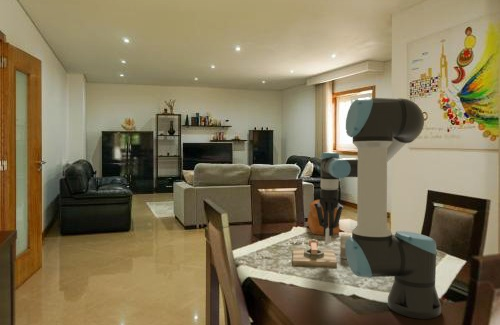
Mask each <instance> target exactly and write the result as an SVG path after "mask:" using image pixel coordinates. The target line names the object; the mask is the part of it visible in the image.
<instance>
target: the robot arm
mask: <svg viewBox="0 0 500 325" xmlns="http://www.w3.org/2000/svg"><path fill="white" fill-rule="evenodd" d="M424 126H425V117H424V113H423V111H422V109H421V107H419V105H418V104H416V102H414V101H412V100H411V99H407V98H403V97H400V98H399V97H398V98H394V97H393V98H389V97H387V98H386V97H362V98H357V99H355V100H353V102H352V103H351V104H350V106H349V108H348V111H347V115H346V120H345V130H346V132H345V133H346V135H347V136H348V137H350V138H352V144H353V145H354V146H355V147H356V148H357V158H352V157H351V158H349V157H348V158H344V157H343V158H340V154H339V152H332V151H331V152H330V151H329V152H327V151H324V152H322V153H321V155H320V188H321V189H319V190H320V192H319V194H320V196H319V198H320V199H318V200H319V202H318V203H316V204H314V206H315V207H316V210H317V215H318V220H319V225H320V226H323V228H324V235H323V236H325V237H324V238H325V243H324V244H328V245H330V244H331V243H332V237H333V236H334V235H333V229H334V228H336V227H338V224H339V225H340V220H341V216H342V212H343V210H344V208H345V205H342V204H340V201H339V183H340V182H339V180H340V179H344V178H357V181H356V182H357V197H356V198H357V199H356V200H357V201H356V202H357V203H356V204H357V210H356V211H357V213H356V214H357V215H356V216H357V220H356V222H357V223H356V226H355V227H354V228H353V229H352V231H351V233H352V234H351V237H350V238H348V239H347V240H346V243H345V252H346V257H347V259H346V261H347V264H348V267H349V268H350V270H351V272H352V273H353V274H354V275H355V276H356V277H359V278H369V279H370V278H371V279H372V278H380V277H381V278H382V277H383V278H385V277H394V278H393V279H394V280H393V283H392V286H391V288H390V291H389V292H388V293H389V294H388V296H387V306H388V308H389V309H390V310H392V311H393V312H394V313H396V314H399V315H401V316H404V317H408V318H413V319H417V320H418V319H421V320H430V319H435V318H438V317H439V316H440V315H441V314H442V312H441V311H442V306H441V301H440V298H439V296H438V292H437V289H436V273H437V272H436V270H437V269H436V267H437V255H438V251H437V242H436V240H434V238H432V237H430V236H427V235H425V234H420V233H417V232H412V231H405V230H399V231H398V230H397V231H396V232H395V234H394V236H393V232H392V231H391V230H390V229H389V228H388V227H387V226H388V223H387V222H388V162H389V161H390V160H392V158H393V157H394V156H395V155H397V153H398V152H399V151H400V150H401V149H402V148H403V147H404V146H406V145H407V144H410V143H413V141H415V140H416V139H418V137H419V136H420V135H421V133H422V131H423V129H424ZM321 206H322V207H323V212H324V217H323V214H322V209H321ZM335 208H337V213H336V216H335V220H334V212H335ZM328 214H329V227H328Z"/></svg>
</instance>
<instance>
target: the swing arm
mask: <svg viewBox="0 0 500 325" xmlns="http://www.w3.org/2000/svg"><path fill="white" fill-rule="evenodd" d="M308 246H309V247H310V249H311V253H312V254H317V249H318V246H319V240H317V239H314V238H313V239H309V240H308Z"/></svg>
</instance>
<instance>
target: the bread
mask: <svg viewBox="0 0 500 325" xmlns="http://www.w3.org/2000/svg"><path fill="white" fill-rule="evenodd" d="M319 200H320V199H315V200H313V201H312V202H311V203H310V204H309V210H310V211H309V213H308V216H307V226H308V228H309V230H310V231H311V233H312V234H314V235H316V236H325V235H324V228H323V226H320V225H319V220H318V215H317V210H316V207H315V206H314V204H316V203H318V202H319ZM321 209H322V214H323V217H324V212H323V207H322V206H321ZM337 210H338V209H337V207H336V208H335V212H334V220H335V216H336V213H337ZM328 227H329V214H328ZM338 234H340V223H339V224H338V227H336V228H334V229H333V236H335V235H338Z"/></svg>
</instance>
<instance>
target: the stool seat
mask: <svg viewBox="0 0 500 325" xmlns="http://www.w3.org/2000/svg"><path fill="white" fill-rule="evenodd" d="M292 253H293V255H292V265H293V266H302V267H303V266H307V267H326V268H337V267H338V261H337V258H336V254H335V250H334V249H320V248H317V254H312V253H311V248H293V252H292Z"/></svg>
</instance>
